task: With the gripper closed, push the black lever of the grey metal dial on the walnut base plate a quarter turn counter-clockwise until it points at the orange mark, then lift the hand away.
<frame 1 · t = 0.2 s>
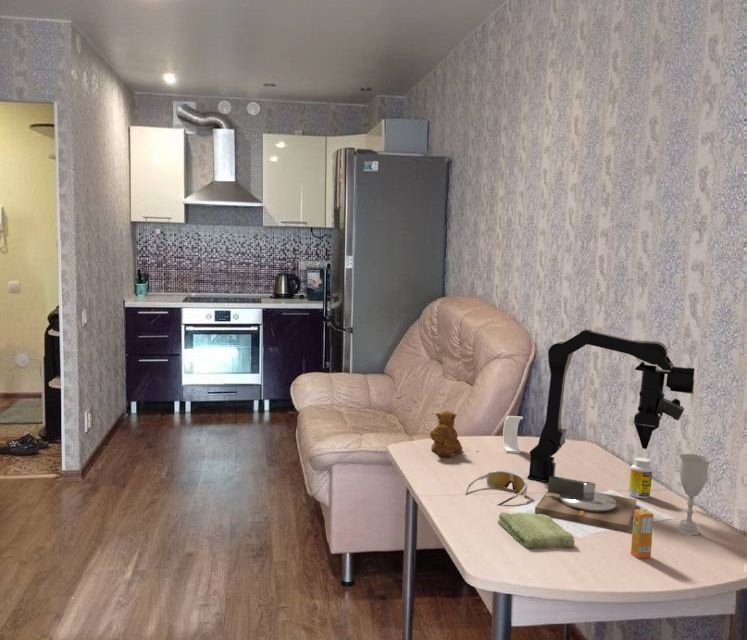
hand: (645, 445, 203), 14 cm above the table, fingers open, 9 cm apart
sunglasses: (496, 496, 199), on the table
chalice: (687, 531, 180), on the table
supplement bottle: (639, 496, 205), on the table
brown teddy bear: (444, 454, 237), on the table
dial base: (586, 508, 192), on the table
washcloth: (534, 536, 172), on the table
supplement box: (639, 556, 163), on the table
dial: (582, 491, 192), point 4 cm above the table, hinge at 0.0°
headphone stand: (510, 451, 245), on the table
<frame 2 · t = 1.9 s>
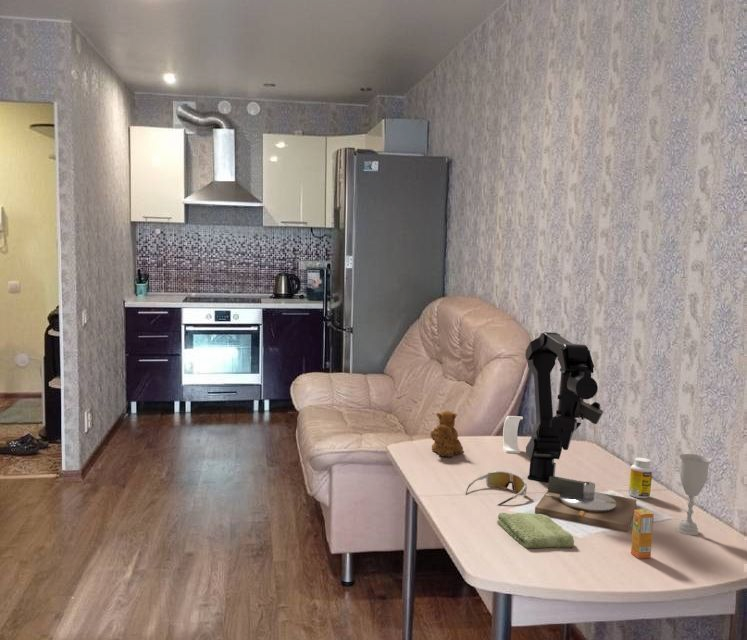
hand: (565, 449, 199), 13 cm above the table, fingers closed
nothing on the table moved.
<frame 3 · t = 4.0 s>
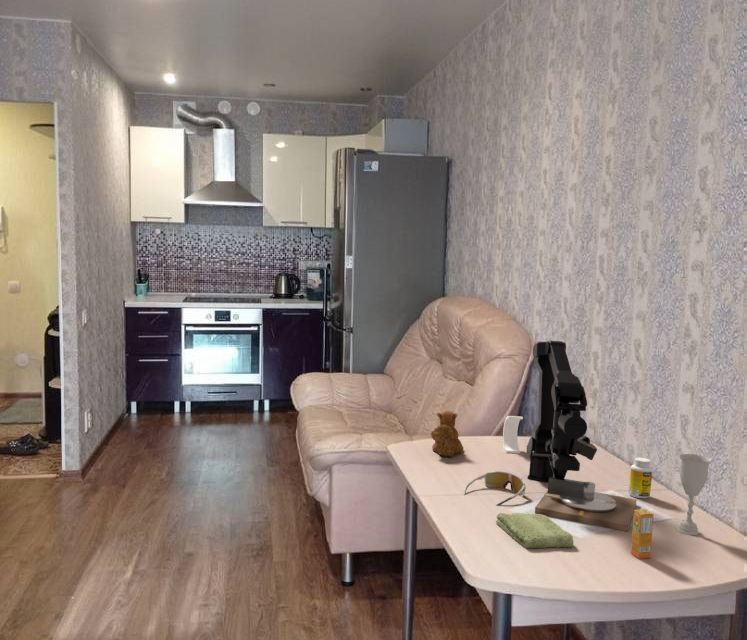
hand: (559, 486, 196), 4 cm above the table, fingers closed
dial: (582, 492, 192), point 4 cm above the table, hinge at 5.5°, touching gripper
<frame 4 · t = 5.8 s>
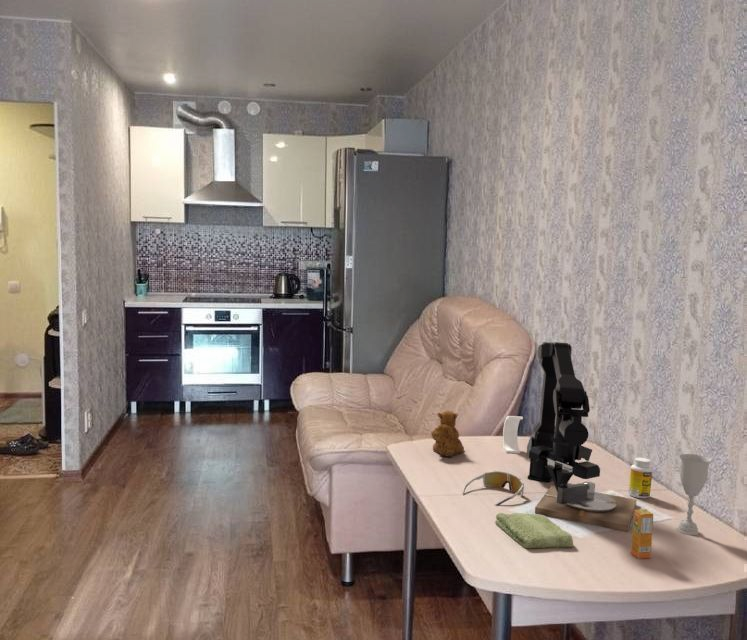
hand: (560, 494, 190), 4 cm above the table, fingers closed
dial: (584, 493, 191), point 4 cm above the table, hinge at 54.7°, touching gripper
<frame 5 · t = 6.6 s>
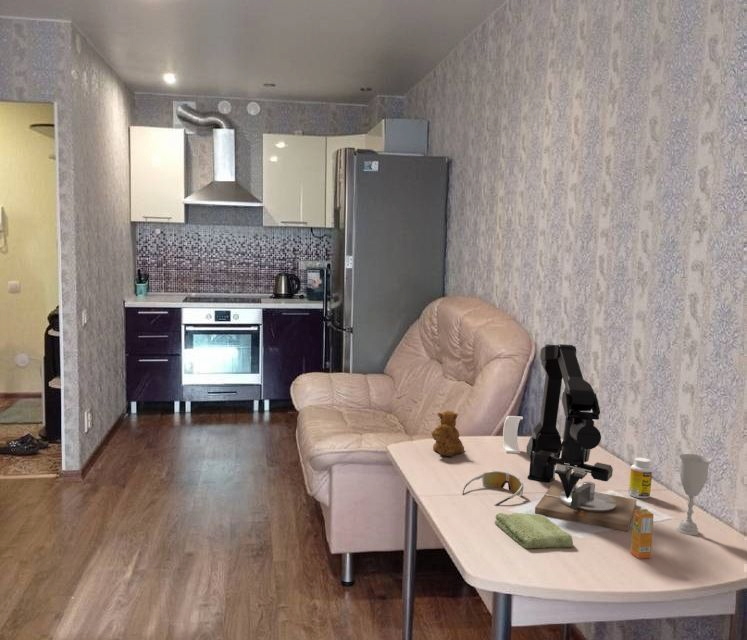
hand: (568, 498, 187), 4 cm above the table, fingers closed
dial: (586, 494, 190), point 4 cm above the table, hinge at 79.0°, touching gripper
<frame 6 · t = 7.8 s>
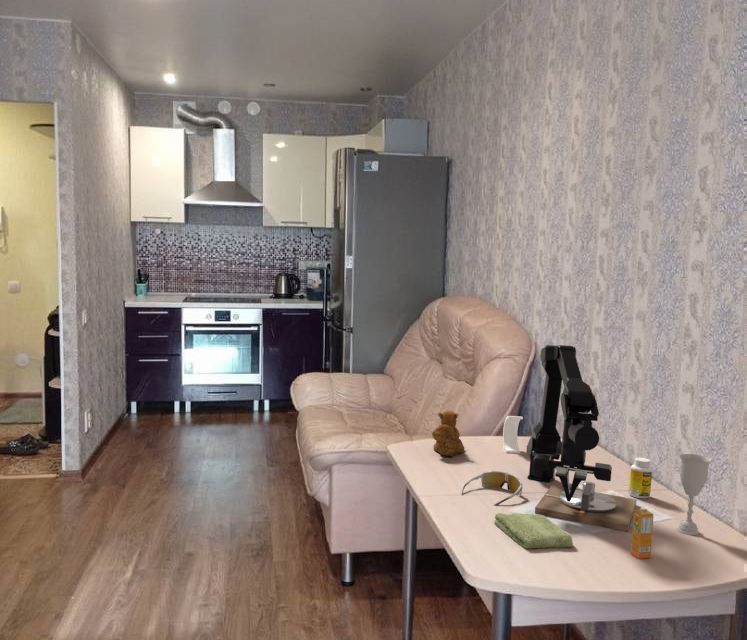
hand: (568, 501, 186), 4 cm above the table, fingers closed
dial: (587, 494, 190), point 4 cm above the table, hinge at 93.6°
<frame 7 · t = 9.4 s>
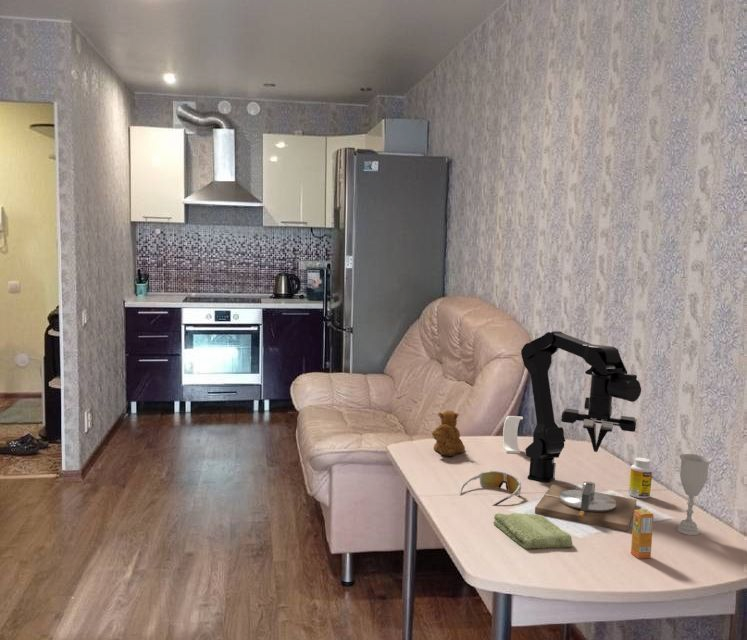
hand: (595, 451, 199), 13 cm above the table, fingers closed
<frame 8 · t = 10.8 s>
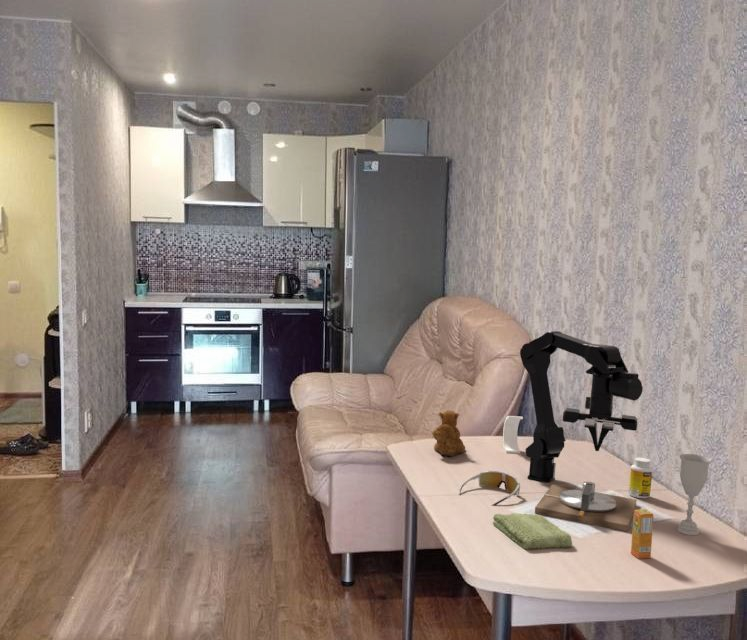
hand: (596, 450, 200), 13 cm above the table, fingers closed
at the end: dial at +94° (first picture: +0°) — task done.
